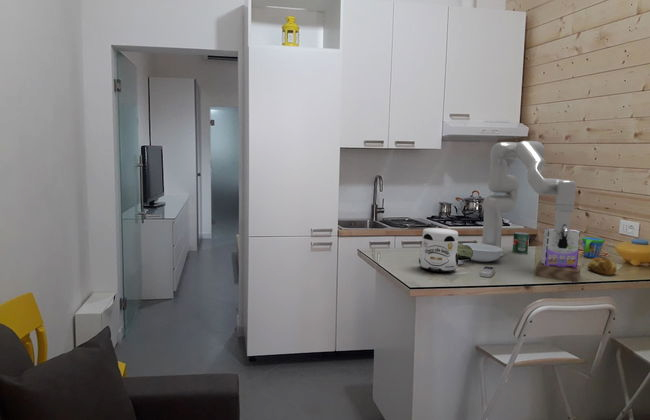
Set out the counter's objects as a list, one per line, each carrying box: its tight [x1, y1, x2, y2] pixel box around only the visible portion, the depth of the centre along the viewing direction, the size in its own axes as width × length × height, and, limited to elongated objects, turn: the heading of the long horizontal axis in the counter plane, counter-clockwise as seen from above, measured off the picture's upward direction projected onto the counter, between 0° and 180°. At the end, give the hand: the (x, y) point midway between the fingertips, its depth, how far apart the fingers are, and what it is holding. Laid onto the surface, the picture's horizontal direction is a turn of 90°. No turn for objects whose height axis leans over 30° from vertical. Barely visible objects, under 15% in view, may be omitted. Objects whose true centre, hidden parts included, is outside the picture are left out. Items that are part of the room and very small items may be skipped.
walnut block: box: [534, 260, 581, 283], centre depth 229 cm, size 17×14×5 cm
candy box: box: [540, 227, 581, 268], centre depth 228 cm, size 14×6×16 cm, turn 82°
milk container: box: [418, 227, 459, 273], centre depth 229 cm, size 17×17×18 cm
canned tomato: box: [511, 231, 530, 255], centre depth 279 cm, size 8×8×11 cm
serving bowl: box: [462, 242, 503, 263], centre depth 256 cm, size 21×21×7 cm
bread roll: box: [586, 256, 618, 276], centre depth 238 cm, size 13×10×8 cm
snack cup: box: [581, 236, 605, 259], centre depth 276 cm, size 16×11×10 cm
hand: (560, 246), depth 228 cm, fingers open, 9 cm apart
